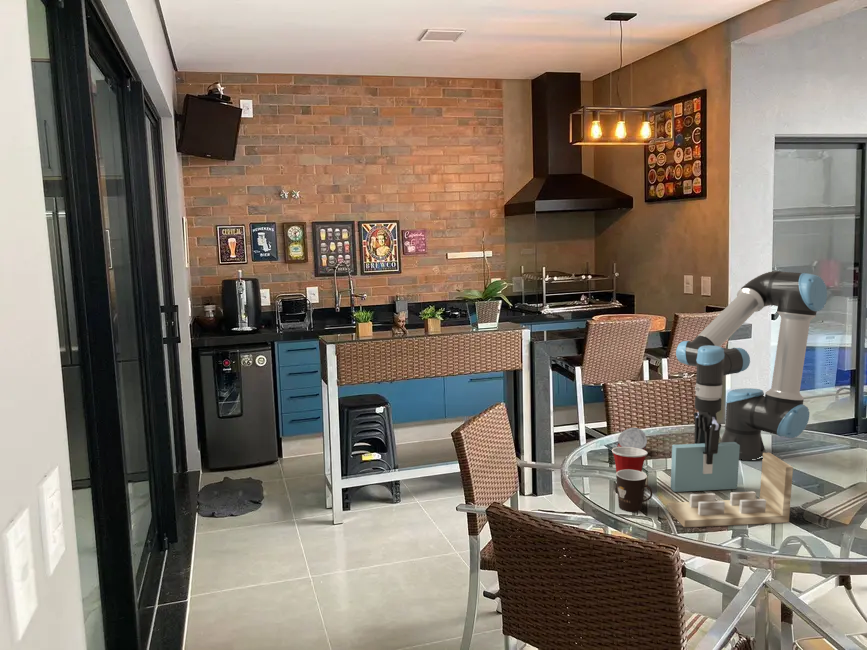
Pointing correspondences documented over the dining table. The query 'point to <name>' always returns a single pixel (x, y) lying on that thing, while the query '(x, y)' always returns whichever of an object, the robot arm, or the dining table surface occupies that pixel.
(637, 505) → the coffee mug
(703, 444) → the door
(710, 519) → the hinge base
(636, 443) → the canned food
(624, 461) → the plastic cup
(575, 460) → the dining table surface
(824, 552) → the dining table surface
